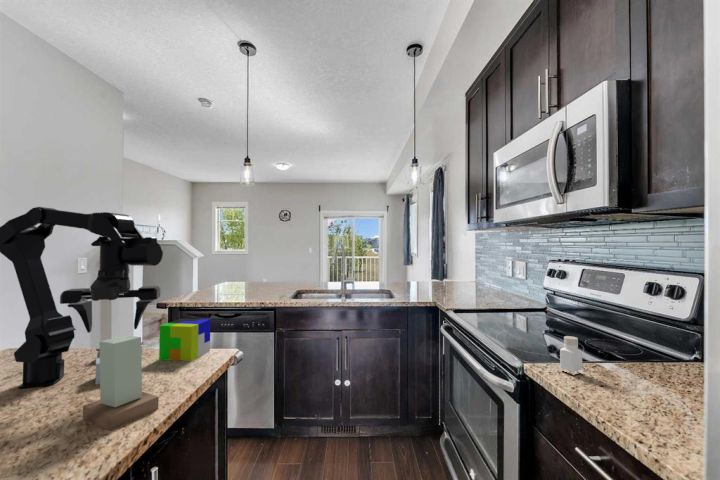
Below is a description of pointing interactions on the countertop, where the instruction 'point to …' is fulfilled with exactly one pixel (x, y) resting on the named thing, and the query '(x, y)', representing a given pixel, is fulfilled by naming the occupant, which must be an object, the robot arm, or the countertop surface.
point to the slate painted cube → (97, 371)
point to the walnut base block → (119, 411)
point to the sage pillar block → (120, 370)
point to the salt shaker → (571, 355)
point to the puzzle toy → (184, 339)
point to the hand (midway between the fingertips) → (113, 330)
